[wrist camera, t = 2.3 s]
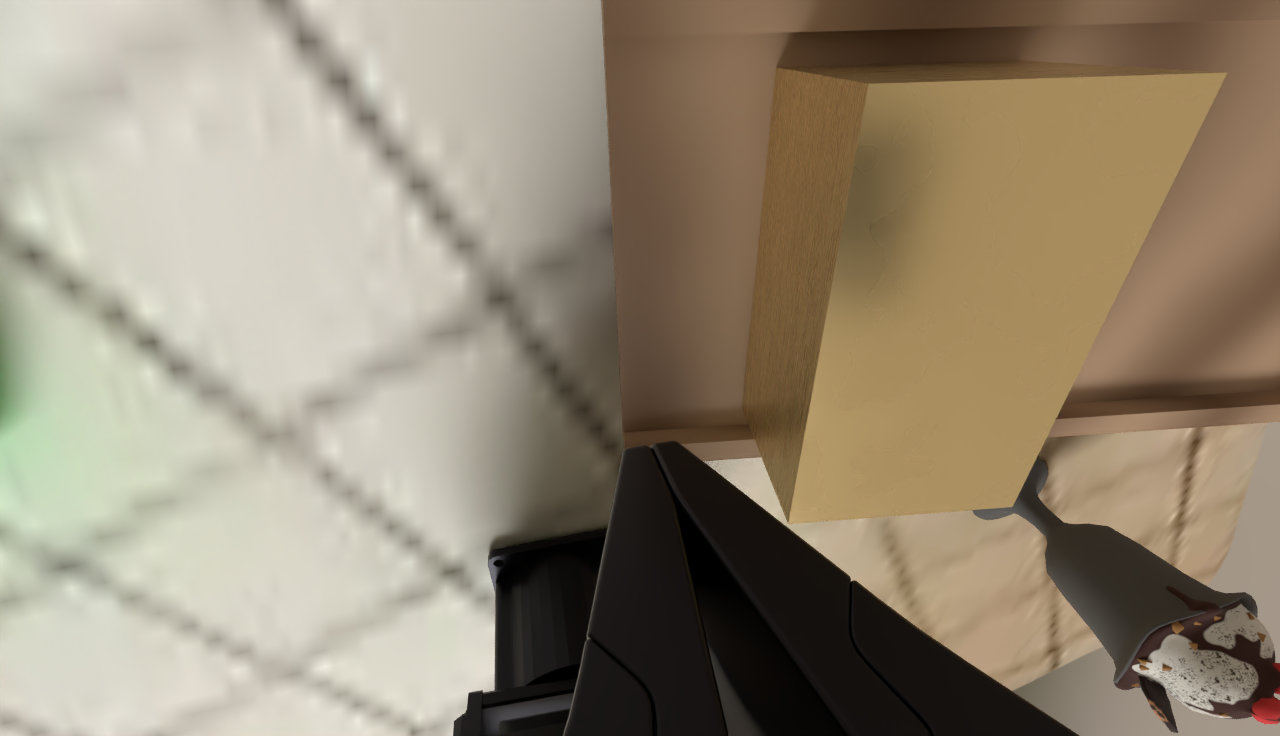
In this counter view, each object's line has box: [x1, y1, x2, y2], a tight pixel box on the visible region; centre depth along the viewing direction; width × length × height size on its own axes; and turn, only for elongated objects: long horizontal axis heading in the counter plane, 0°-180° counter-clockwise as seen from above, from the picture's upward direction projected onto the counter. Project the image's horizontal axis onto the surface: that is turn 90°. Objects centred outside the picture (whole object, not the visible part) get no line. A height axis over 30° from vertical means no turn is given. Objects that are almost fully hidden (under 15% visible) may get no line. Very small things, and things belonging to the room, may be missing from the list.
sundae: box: [973, 459, 1280, 733], centre depth 26 cm, size 7×7×15 cm
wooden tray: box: [601, 0, 1280, 461], centre depth 16 cm, size 26×15×4 cm, turn 91°
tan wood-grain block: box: [742, 60, 1227, 524], centre depth 13 cm, size 6×10×5 cm, turn 1°
